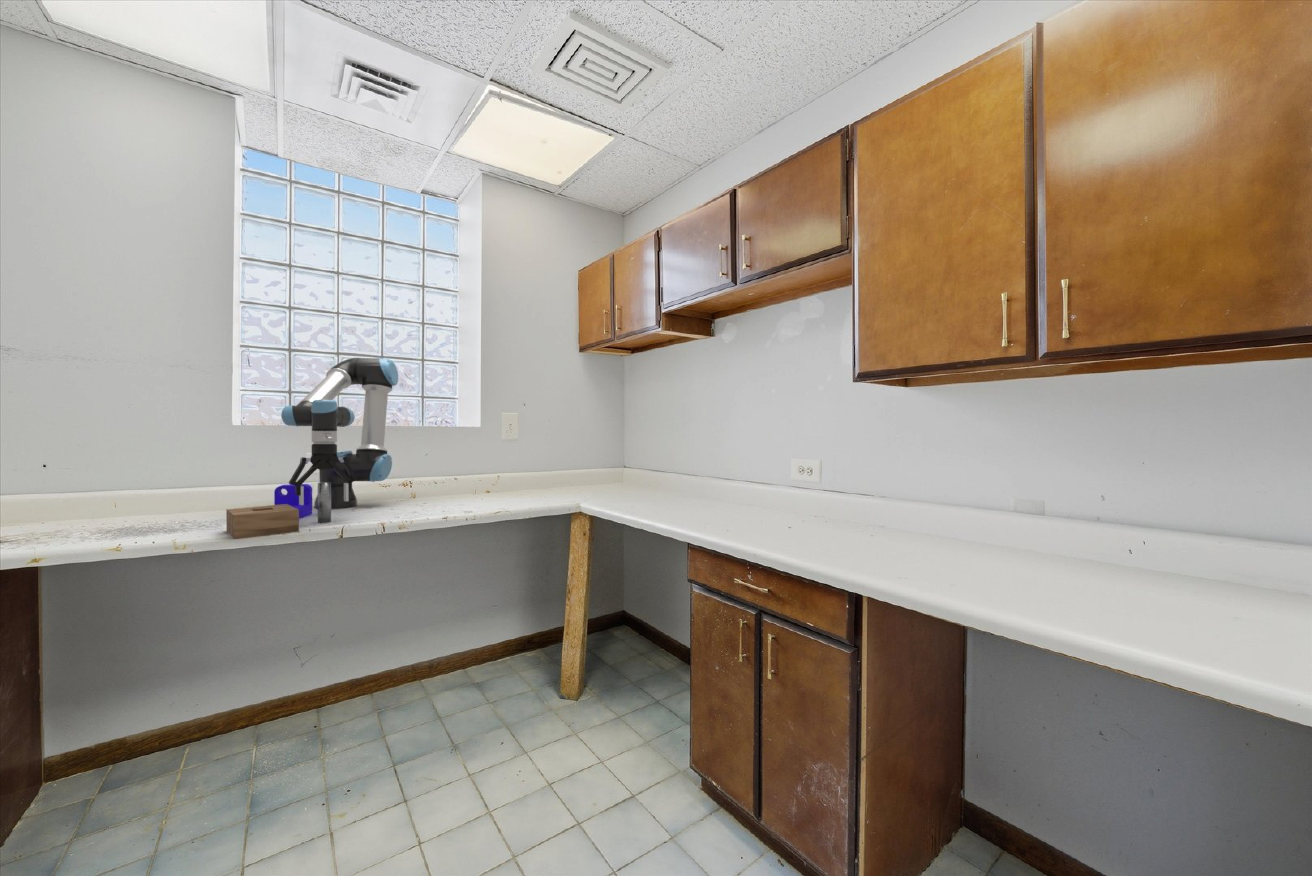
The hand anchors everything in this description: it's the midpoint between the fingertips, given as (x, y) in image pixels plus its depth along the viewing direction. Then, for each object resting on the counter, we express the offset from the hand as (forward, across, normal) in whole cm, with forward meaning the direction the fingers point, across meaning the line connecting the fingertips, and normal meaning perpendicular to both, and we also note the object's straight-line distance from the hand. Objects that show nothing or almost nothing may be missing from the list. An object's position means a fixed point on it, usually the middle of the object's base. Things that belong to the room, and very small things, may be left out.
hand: (324, 502), depth 175 cm
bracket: (+7, -7, +16) cm, 19 cm away
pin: (+7, 0, 0) cm, 7 cm away
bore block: (+7, -18, -4) cm, 20 cm away
